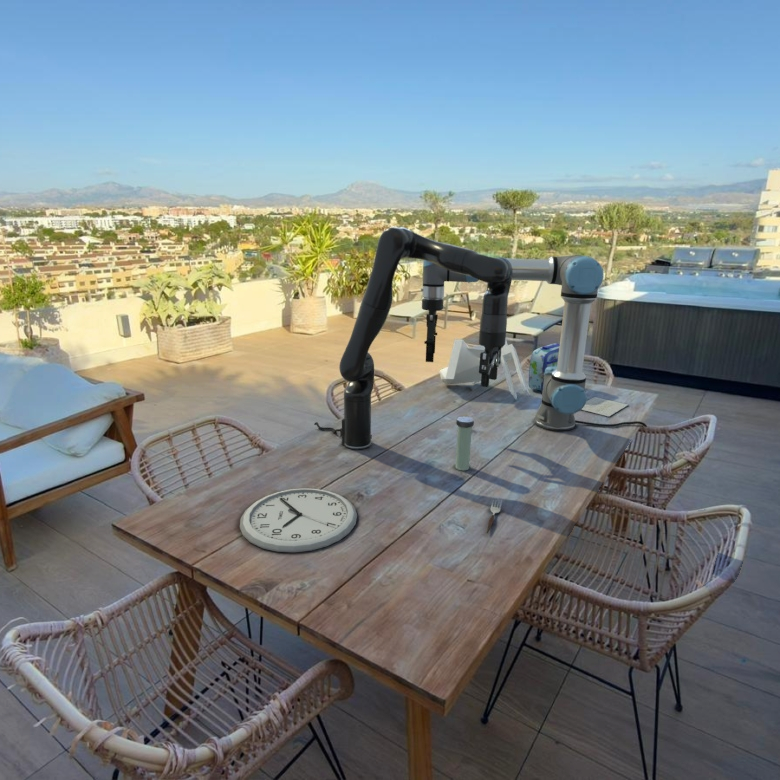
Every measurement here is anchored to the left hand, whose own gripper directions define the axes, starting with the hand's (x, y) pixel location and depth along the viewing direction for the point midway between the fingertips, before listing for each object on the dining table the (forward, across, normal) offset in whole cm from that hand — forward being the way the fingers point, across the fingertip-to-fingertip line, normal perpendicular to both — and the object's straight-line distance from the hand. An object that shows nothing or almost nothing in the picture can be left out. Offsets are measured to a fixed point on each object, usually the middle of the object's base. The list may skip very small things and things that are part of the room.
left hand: (488, 382), depth 155 cm
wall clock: (+29, +49, -34) cm, 67 cm away
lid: (+13, 0, -6) cm, 15 cm away
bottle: (+29, 0, -6) cm, 30 cm away
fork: (+29, +26, +11) cm, 40 cm away
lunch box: (+29, -104, +2) cm, 108 cm away
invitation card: (+29, -86, +27) cm, 95 cm away
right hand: (+1, -25, -29) cm, 39 cm away
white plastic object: (+29, -80, -26) cm, 89 cm away
